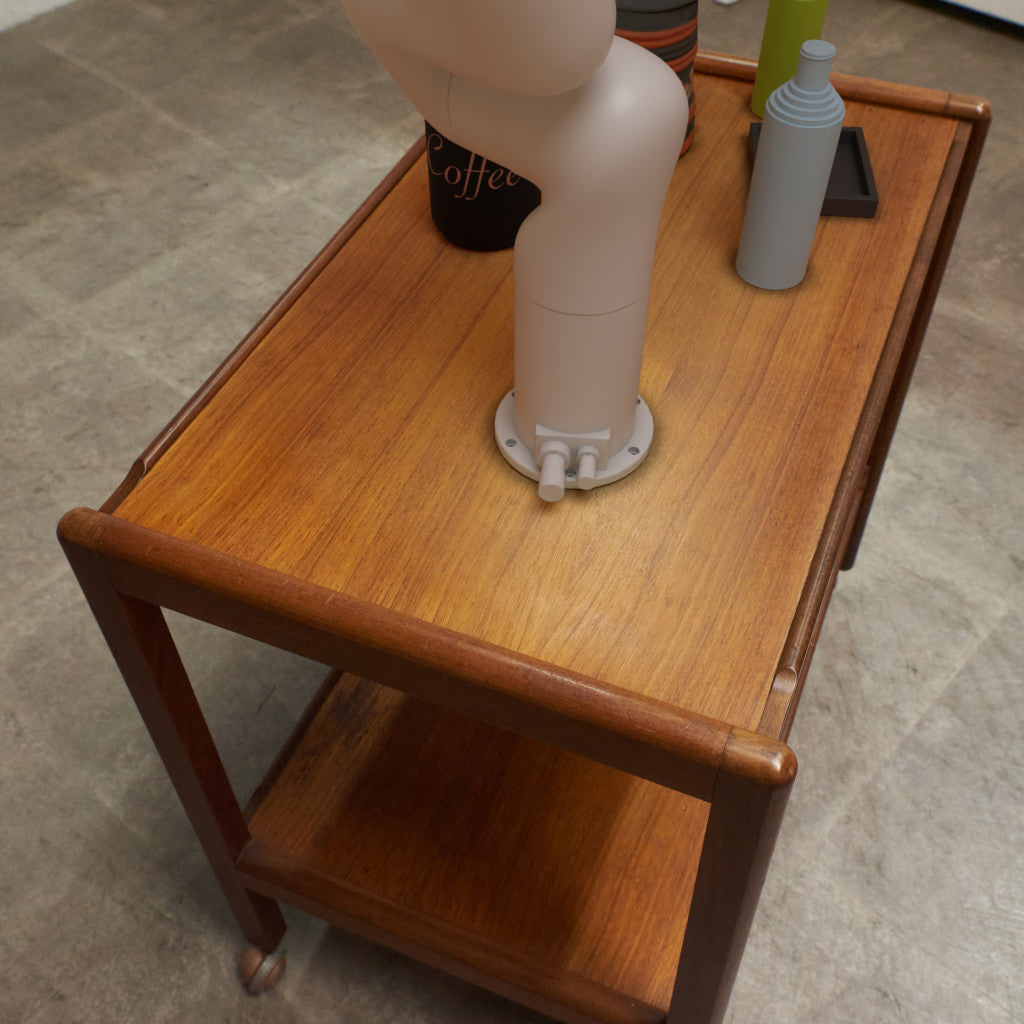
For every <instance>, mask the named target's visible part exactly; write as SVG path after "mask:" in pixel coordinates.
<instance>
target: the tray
mask: <svg viewBox="0 0 1024 1024" xmlns="http://www.w3.org/2000/svg"><path fill="white" fill-rule="evenodd" d="M761 127H762V122H756V121H755V122H754V121H751V122H750V124H749V130H748V134H747V135H748V136H747V146H748V157H749V158H748V159H749V167H750V176H751V177H750V178H752V174H753V169H754V164H755V159H756V153H757V148H758V143H759V137H760V132H761ZM879 203H880V197H879V193H878V189H877V184H876V180H875V176H874V172H873V167H872V163H871V159H870V155H869V150H868V146H867V142H866V138H865V134H864V129H863V126H847V125H845V126H843V125H842V129H841V133H840V137H839V141H838V145H837V149H836V153H835V157H834V161H833V165H832V169H831V172H830V176H829V180H828V184H827V188H826V192H825V196H824V200H823V204H822V208H821V212H820V216H826V217H827V216H828V217H849V218H866V219H867V218H869V219H875V216H876V213H877V209H878V207H879Z"/></svg>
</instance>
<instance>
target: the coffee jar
mask: <svg viewBox="0 0 1024 1024" xmlns="http://www.w3.org/2000/svg"><path fill="white" fill-rule="evenodd" d="M423 119H424V132H425V144H426V161H427V173H428V175H427V176H428V189H429V202H430V216H431V220H432V222H433V224H434V226H435V228H436V229H437V231H438V233H440V234H441V235H442V237H443V238H444V239H446V240H447V241H448V242H449V243H450V244H452V245H453V246H456V247H459V248H461V249H464V250H467V251H474V252H479V253H480V252H482V253H483V252H498V251H502V250H508V249H510V248H513V247H514V246H515V241H516V237H517V234H518V231H519V229H520V227H521V225H522V223H523V222H524V220H525V219H526V218H527V217H528V216H529V214H530V213H531V212H532V211H533V210H534V209H536V208H537V207H538V206H539V205H540V204H542V192H541V190H540V189H539V188H538V187H537V186H536V185H535V184H533V183H532V182H530V181H529V180H527V179H525V178H523V177H521V176H519V175H517V174H515V173H514V172H512V171H511V170H509V169H507V168H505V167H503V166H501V165H499V164H497V163H495V162H493V161H491V160H489V159H486V158H484V157H482V156H480V155H478V154H476V153H474V152H472V151H469V150H467V149H465V148H463V147H461V146H459V145H457V144H456V143H454V142H452V141H450V140H449V139H447V138H446V137H444V136H443V135H442V134H440V133H439V132H438V131H437V130H436V129H435V128H434V127H432V126H431V125H430V124H429V123H428V122H427V121H426V119H425V118H424V117H423Z"/></svg>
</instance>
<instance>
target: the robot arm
mask: <svg viewBox="0 0 1024 1024" xmlns="http://www.w3.org/2000/svg"><path fill="white" fill-rule="evenodd" d="M340 2H341V4H342V5H341V6H342V8H343V11H344V12H345V14H346V16H347V18H348V21H349V23H350V24H351V26H352V27H353V29H354V31H355V32H356V33H357V35H358V36H359V38H360V40H362V42H363V43H364V44H365V46H366V47H367V48H368V49H369V51H370V52H371V53H372V54H373V56H374V57H375V59H376V60H377V61H378V63H379V64H380V65H381V66H382V67H383V69H384V70H385V71H386V72H387V74H388V76H389V77H390V78H391V79H392V80H393V81H394V83H395V84H396V86H397V87H398V88H399V89H400V91H401V92H402V93H403V94H404V96H405V97H406V98H407V100H408V101H410V103H411V104H412V105H413V107H414V108H415V110H417V112H418V113H419V114H420V115H421V116H422V118H423V119H424V118H425V119H426V121H427V122H428V123H429V124H430V125H431V126H432V127H434V128H435V129H436V130H437V131H438V132H439V133H440V134H442V135H443V136H444V137H446V138H447V139H449V140H450V141H452V142H454V143H456V144H457V145H459V146H461V147H463V148H465V149H467V150H469V151H472V152H474V153H476V154H478V155H480V156H482V157H484V158H486V159H489V160H491V161H493V162H495V163H497V164H499V165H501V166H503V167H505V168H507V169H509V170H511V171H512V172H514V173H515V174H517V175H519V176H521V177H523V178H525V179H527V180H529V181H530V182H532V183H533V184H535V185H536V186H537V187H538V188H539V189H540V190H541V196H542V201H541V204H540V205H539V206H538V207H537V208H536V209H534V210H533V211H532V212H531V213H530V214H529V216H528V217H527V218H526V219H525V220H524V222H523V223H522V225H521V227H520V229H519V231H518V234H517V237H516V241H515V246H513V247H514V248H513V308H514V309H513V366H514V367H513V368H514V369H513V371H514V372H513V387H512V388H511V389H510V390H509V391H508V392H507V393H506V394H505V396H504V397H503V398H502V400H501V401H500V403H499V405H498V407H497V410H496V412H495V418H494V437H495V441H496V444H497V447H498V449H499V451H500V453H501V455H502V457H503V458H504V459H505V461H507V463H508V464H509V465H510V466H511V467H512V468H514V469H515V470H516V471H518V472H519V473H521V475H524V476H525V477H527V478H529V479H532V480H533V481H535V482H538V491H537V494H538V495H537V496H539V498H540V499H541V500H543V501H545V502H550V503H554V502H559V501H560V500H563V498H564V496H565V491H566V489H579V490H580V489H581V490H584V491H587V490H592V489H594V488H597V487H601V486H605V485H609V484H612V483H614V482H617V481H619V480H621V479H623V478H625V477H627V476H628V475H630V474H631V473H632V472H634V471H635V470H636V469H637V468H638V467H639V466H641V464H642V463H644V461H645V459H646V457H647V456H648V454H649V453H650V451H651V447H652V443H653V441H654V440H653V439H654V432H655V431H654V430H655V426H654V425H655V424H654V418H653V414H652V412H651V410H650V407H649V405H648V404H647V403H646V401H645V399H644V398H643V397H642V396H641V395H640V394H639V389H640V382H641V372H642V364H643V356H644V347H645V339H646V331H647V324H648V323H647V322H648V313H649V305H650V298H651V289H652V281H653V272H654V263H655V262H654V261H655V255H656V254H655V253H656V247H657V241H658V233H659V228H660V224H661V218H662V214H663V210H664V206H665V203H666V202H665V201H666V197H667V194H668V191H669V188H670V185H671V182H672V179H673V175H674V172H675V169H676V166H677V163H678V160H679V158H678V157H679V155H680V152H681V149H682V145H683V142H684V138H685V135H686V130H687V124H688V116H689V107H688V99H687V95H686V92H685V89H684V87H683V85H682V83H681V81H680V79H679V78H678V76H677V75H676V74H675V72H674V71H673V70H672V69H671V68H670V67H669V66H668V65H667V64H666V63H665V62H664V61H663V60H661V59H660V58H659V57H658V56H656V55H655V54H653V53H651V52H650V51H648V50H646V49H645V48H643V47H641V46H639V45H637V44H635V43H633V42H631V41H628V40H626V39H624V38H621V37H618V36H616V35H614V32H615V28H616V3H615V0H340ZM425 119H424V120H425Z"/></svg>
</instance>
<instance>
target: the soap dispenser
mask: <svg viewBox="0 0 1024 1024" xmlns="http://www.w3.org/2000/svg"><path fill="white" fill-rule="evenodd" d="M829 2H830V1H829V0H768V5H767V12H766V16H765V23H764V28H763V34H762V39H761V45H760V50H759V57H758V62H757V68H756V73H755V79H754V86H753V91H752V96H751V101H750V110H751V112H752V113H753V114H754V115H755V116H756V117H758V118H760V119H761V120H763V116H764V111H765V106H766V101H767V100H768V98H769V97H770V96H771V94H772V92H773V91H775V90H776V89H778V88H779V87H780V86H781V85H783V84H785V83H786V82H787V81H789V80H791V79H792V78H793V77H794V76H796V72H797V67H798V62H799V57H800V48H801V47H802V45H803V43H804V42H806V41H809V40H821V38H822V33H823V28H824V24H825V19H826V15H827V10H828V5H829Z"/></svg>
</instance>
